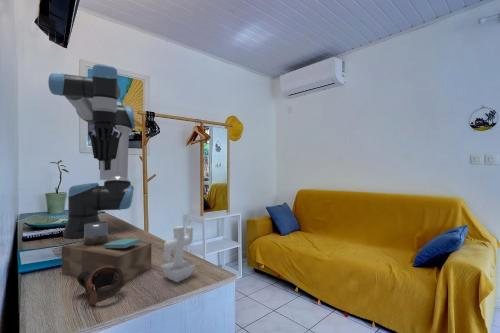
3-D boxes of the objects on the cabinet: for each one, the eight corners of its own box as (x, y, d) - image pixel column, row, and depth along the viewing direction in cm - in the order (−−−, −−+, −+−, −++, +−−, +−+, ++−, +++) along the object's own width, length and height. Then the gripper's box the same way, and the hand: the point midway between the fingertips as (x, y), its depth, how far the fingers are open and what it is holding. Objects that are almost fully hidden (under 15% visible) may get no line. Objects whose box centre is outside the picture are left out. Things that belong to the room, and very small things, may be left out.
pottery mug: (131, 286, 70) (133, 266, 67) (111, 320, 62) (112, 299, 58) (87, 275, 70) (87, 254, 66) (62, 308, 61) (59, 286, 58)
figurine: (156, 279, 74) (157, 227, 73) (183, 269, 81) (184, 221, 81) (172, 287, 69) (172, 231, 69) (198, 275, 77) (199, 225, 77)
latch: (120, 242, 81) (120, 239, 81) (140, 242, 79) (140, 238, 79) (104, 248, 76) (103, 244, 76) (124, 248, 73) (124, 244, 73)
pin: (97, 259, 85) (97, 220, 85) (112, 262, 83) (112, 222, 83) (78, 267, 79) (79, 225, 79) (93, 270, 77) (94, 227, 77)
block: (100, 258, 89) (100, 235, 89) (151, 268, 82) (151, 243, 82) (61, 273, 77) (61, 246, 77) (117, 286, 69) (117, 256, 69)
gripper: (128, 112, 90) (127, 179, 91) (100, 113, 95) (100, 177, 96) (110, 109, 83) (110, 181, 84) (81, 110, 87) (80, 179, 88)
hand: (104, 179), depth 90 cm, fingers closed
